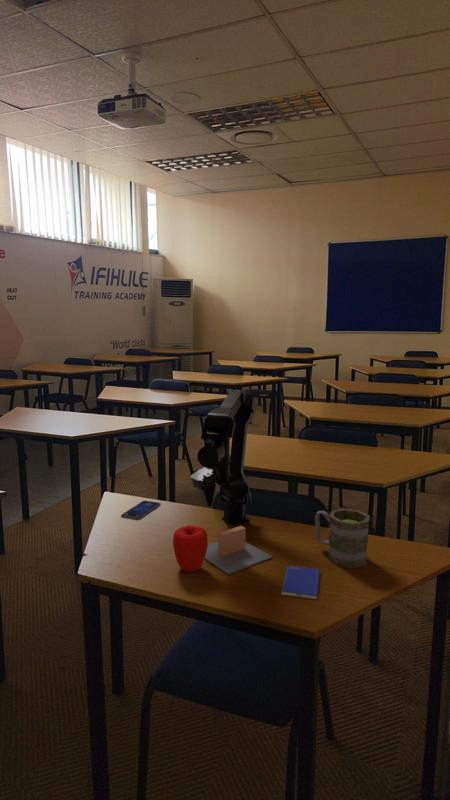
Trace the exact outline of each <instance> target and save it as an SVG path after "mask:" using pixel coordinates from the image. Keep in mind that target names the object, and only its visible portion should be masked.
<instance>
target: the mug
mask: <svg viewBox="0 0 450 800" xmlns="http://www.w3.org/2000/svg"><path fill="white" fill-rule="evenodd" d="M321 515H322V516H323V517H324V518H325V520H326V521H327V522H328V523H329V533H328V540H323V539H322V537H321V533H320V532H321V531H320V528H321V522H320V521H321V520H320V516H321ZM370 516H371V515H369V514H367V513H365V512H363V511H361V510H359V509H350V508H341V509H340V508H339V509H335V510H331V512H330V514H329V513H328V512H326V511H325V510H319V511H317V512H316V514H315V516H314V523H315V527H314V529H315V531H314V532H315V534H314V535H315V539H316V541H317V542H318V543H319V544H321V545H325V546H326V545H328V554H327V559H328V561H330V562H331V563H333V564H334V565H336V566H337V567H343V568H349V569H357V568H361V567H364V566H367V563H368V543H369V522H370V518H371V517H370Z"/></svg>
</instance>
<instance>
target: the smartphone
mask: <svg viewBox="0 0 450 800" xmlns="http://www.w3.org/2000/svg"><path fill="white" fill-rule="evenodd" d="M159 505H160V506H161V502H157V501H150V500H142V501H141V502H139V503H137V504H136V505H135V506H133V507H131V508H130V509H128V510H127V511H125V512H123V513H122V514H121V515H120V517H121V518H124V519H130V520H135V521H139V520H141V519H143V518H144V517H145V516H148V515H149V514H151V512H153V511H155V510H156V509H158V508H159V507H160V506H159ZM158 506H159V507H158Z"/></svg>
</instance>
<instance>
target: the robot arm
mask: <svg viewBox="0 0 450 800" xmlns="http://www.w3.org/2000/svg"><path fill="white" fill-rule="evenodd" d="M256 410H257V402H256V400H255V399H254V397H253V396H251V395H249V394H248V393H246V391H244V390H240V389H231V390H228V391H227V396H226V397H225V398H224V399H223V401H222V403H221V405H220V406H219V407H217V408H214V409H211V410H210V411H209V412H208V413H207V415H206V416H205V417H204V421H203V426H202V430H201V436H200V440H206V441H204V446H202V447H201V448H200V449H199V450H198V452H197V456H196V457H197V461H198V463H199V464H200V465H201V466H202V468H199V469H194V470H193V472H192V473H191V475H190V480H191V483H192V485H193V488H197V489H199V490H200V491H202V493H203V496H204V499H205V502H206V505H207V507H208V508H210V507H212V505H213V502H214V498H215V497H214V495H215V490H216V486H219V487H220V488H219V494H220V495H219V496H220V502H221V503H224V506H223V516H221V520H224V521H225V522H228V523H229V524H232V525H235V526H236V525H239V524H242V523H245V522H248V521H250V518H249V517H247V505H248V504H251V503H252V497H251V493H252V492H251V490H250V486H249V485H248V479H247V477H246V475H245V473H244V470H245V469H244V467H245V458H246V446H247V435H248V427H249V425H250V424H251V422H252V421H253V419H254V414H255V413H256ZM230 441H231V443H230ZM230 444H231V445H230Z"/></svg>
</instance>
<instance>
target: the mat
mask: <svg viewBox="0 0 450 800" xmlns="http://www.w3.org/2000/svg"><path fill="white" fill-rule="evenodd" d="M271 559H273V556H272V555H270V554H269V553H267V552H265V551H263V550H261V549H259V548H258V547H255V546H254V545H252V544H250V543H248V542H246V541H245V549H243V550H240V551H237V552H234V553H231V554H229V555H226V556H223V557H222V556H220V555H219V554H218V541H215V542H213V543H209V544H208V547H207V551H206V555H205V558H204V561H206V562H208V563H209V564H211V565H213V566H214V567H216V568H217V569H219V570H220V571H222V572H223V573H225V574H227V575H232V574H234V573H237V572H239V571H242V570H245V569H247V568H250V567H253V566H256V565H257V564H261V563H263V562H266V561H267V560H268V561H269V560H271Z"/></svg>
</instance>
